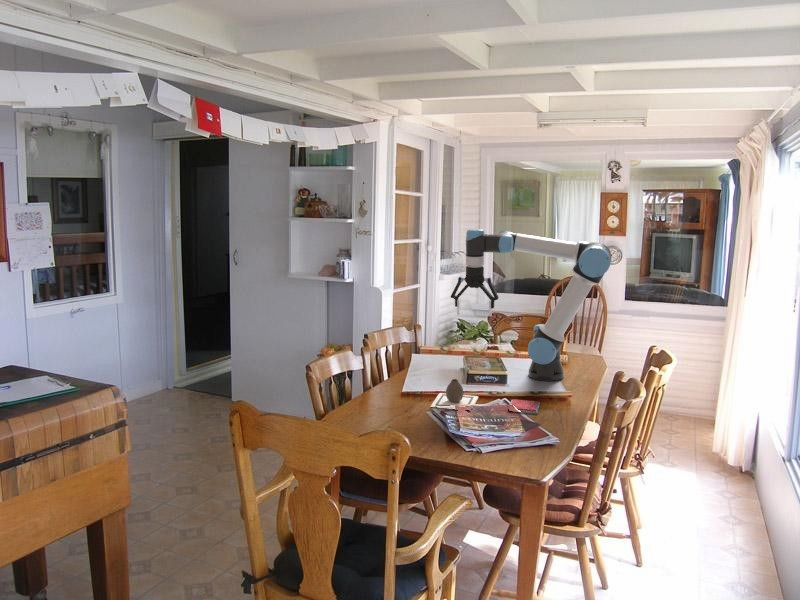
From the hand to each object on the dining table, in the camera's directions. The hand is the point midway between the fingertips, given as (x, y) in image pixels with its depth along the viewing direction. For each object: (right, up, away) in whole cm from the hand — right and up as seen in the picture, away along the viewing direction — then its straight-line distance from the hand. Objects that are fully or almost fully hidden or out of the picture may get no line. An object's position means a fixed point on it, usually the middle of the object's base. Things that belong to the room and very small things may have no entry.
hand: (474, 315), depth 293 cm
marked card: (-10, -34, -23) cm, 42 cm away
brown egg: (-10, -34, -23) cm, 42 cm away
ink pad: (+16, -35, -29) cm, 48 cm away
